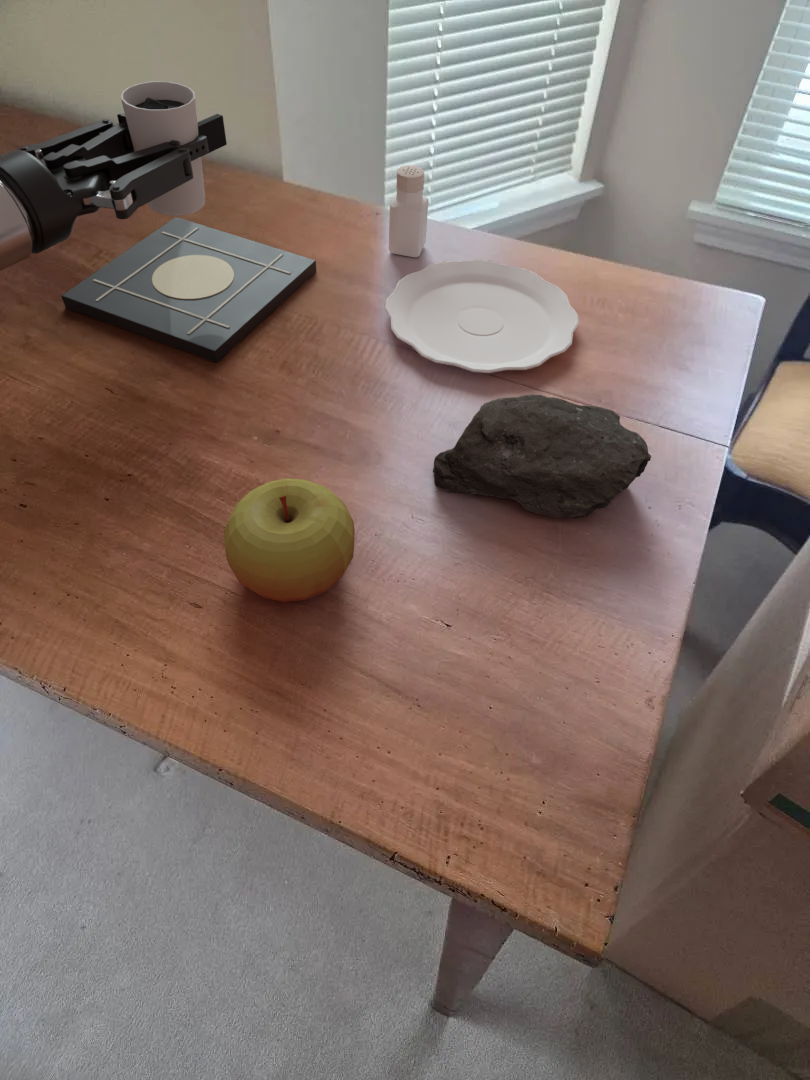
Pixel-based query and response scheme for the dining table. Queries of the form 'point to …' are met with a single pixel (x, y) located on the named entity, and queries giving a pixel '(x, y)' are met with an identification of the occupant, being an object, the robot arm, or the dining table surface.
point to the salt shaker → (408, 213)
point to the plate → (481, 316)
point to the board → (192, 287)
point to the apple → (289, 539)
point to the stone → (544, 456)
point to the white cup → (166, 136)
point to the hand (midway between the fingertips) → (204, 123)
